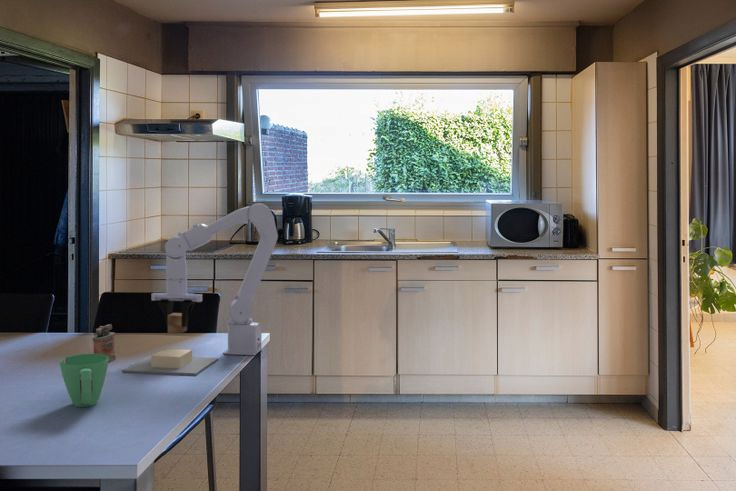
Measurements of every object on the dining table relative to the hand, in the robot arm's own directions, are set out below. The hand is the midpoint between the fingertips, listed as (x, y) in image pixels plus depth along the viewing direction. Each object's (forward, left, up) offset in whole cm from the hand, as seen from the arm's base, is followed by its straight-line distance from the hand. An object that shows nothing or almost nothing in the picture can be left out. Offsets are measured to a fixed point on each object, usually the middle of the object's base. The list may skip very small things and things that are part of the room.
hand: (177, 325), depth 190 cm
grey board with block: (-4, +12, -8) cm, 15 cm away
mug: (0, +47, -9) cm, 48 cm away
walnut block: (0, 0, -2) cm, 2 cm away
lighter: (+16, +11, -9) cm, 21 cm away
